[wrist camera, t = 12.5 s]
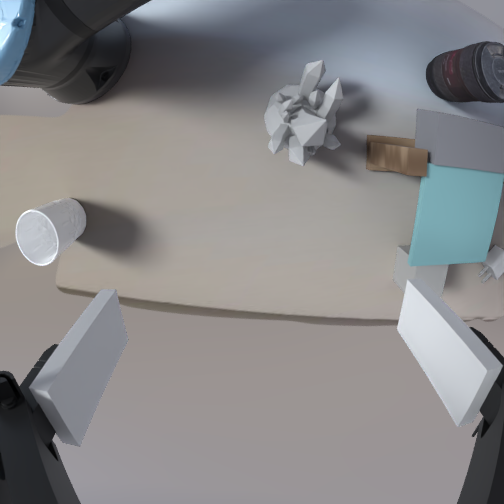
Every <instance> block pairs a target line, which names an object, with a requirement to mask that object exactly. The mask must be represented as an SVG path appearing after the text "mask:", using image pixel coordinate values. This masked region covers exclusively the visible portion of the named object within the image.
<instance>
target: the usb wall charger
mask: <svg viewBox="0 0 504 504" xmlns="http://www.w3.org/2000/svg"><path fill="white" fill-rule="evenodd" d="M482 264H483V266H484V269H483V270H482V271H481V272H480V273H479V274H478V276H479V275H480V274H481V275H480V276H482V275H483V274H484V272H485V271H486V272H487V273H488V275H487V276H486V277H485V278H484V279H483V280H482V281H481V283H484V282H485V281H486V280H487V279H488V278H489V277H490V276H492V277H493V278H494V279H496V280H497V279H498V278H499V277H500V276H501V275H502V274H503V273H504V250H503V249H501V248H500V247H498V246H496V245H495V246H494V247H493V248H492V249H491V250H490V251H489V252H488V253H487V257H486V260H485V262H482ZM480 276H479V277H480ZM483 281H484V282H483Z"/></svg>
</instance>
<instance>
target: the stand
mask: <svg viewBox="0 0 504 504" xmlns="http://www.w3.org/2000/svg"><path fill="white" fill-rule="evenodd" d="M427 158H428V150H426V149H420V148H415V139H407V138H397V137H386V136H374V135H367V163H366V169H367V170H378V171H396V172H399V173H402V174H405V175H410V176H425V177H426V176H427ZM503 184H504V181H503Z"/></svg>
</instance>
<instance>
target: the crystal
mask: <svg viewBox="0 0 504 504" xmlns="http://www.w3.org/2000/svg"><path fill="white" fill-rule="evenodd" d="M325 71H326V70H325V65H324V61H323V60H320V61H315V62H311V63H307V64H306V66H305V69H304V72H303V75H302V79H301V82H300V84H290V85H286V86H285V87H283V88H282V89H280V90H279V91H277V92H276V93H275V94H273V95H272V96H271V98H270V101H269V104H268V107H267V110H266V113H265V115H264V119H265V124H266V129H267V131H268V133H269V134H270V136H271V137H272V138H271V139H270V142H269V144H268V148H269V149H270V150H271V151H272V152H273V154H275V153H277V152H279V151H281V150H283V147H285V148H287V149H288V150H289V161H291V162H294V163H296V164H299V165H302V166H304V165H305V163H306V162H307V160H308V158H309V157H310V155H314V154H316V149H318V148H319V147H321V146H324V147H327V148H329V149H332V150H334V149H336V148H337V147H339V146H340V145H341V144H340V143H339V141H338V140H337V138H336V137H335V136H334V135H332V133H333V131H334V128H335V126H336V115H335V113H336V112H337V110H338V109H339V107H340V105H341V103H342V101H343V93H342V88H341V83H340V78H339V77H338V79H337V80H336V81H335V82H334V83H333V84H332V85H331V87H330V88H329V89H328V90H327V91H326V92H325V93H324V92H322V91H321V90H319V89H317V86H318V84H319V82H320V80H321V78H322V76H323V75H324V73H325ZM309 153H310V154H309Z"/></svg>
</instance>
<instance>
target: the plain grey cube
mask: <svg viewBox="0 0 504 504" xmlns="http://www.w3.org/2000/svg"><path fill="white" fill-rule="evenodd" d="M410 247H411V245H410V246H398V247H397V255H396V262H395V268H394V275H393V281H394V282H395V283H396V284H397V285H398V287H399V288H400V289H401V290H402V291H403V292H404V294H405V289H406V284H407V279H420V278H421V279H422V280H423V281H424V282H425V283H426V284H427V285H428V286H429V287H430V288H431V289H432V290H433V291H434V292H435V293H436V294H437V295H438V296H439V297H442V293H443V289H444V284H445V280H446V275H447V271H448V266H449V264H444V265H428V266H411V267H410V265H409V264H408V263H407V262H408V257H409V252H410Z"/></svg>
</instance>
